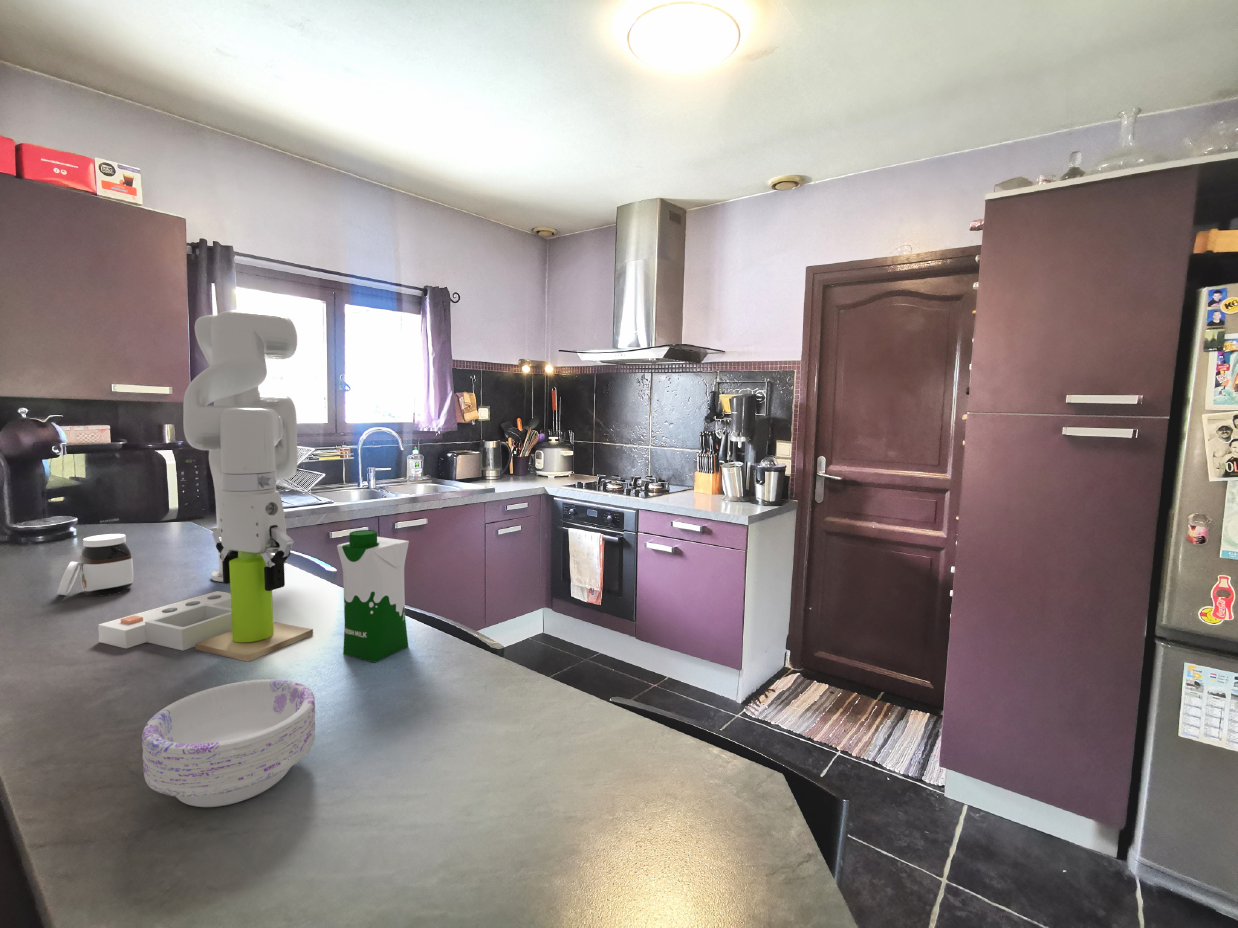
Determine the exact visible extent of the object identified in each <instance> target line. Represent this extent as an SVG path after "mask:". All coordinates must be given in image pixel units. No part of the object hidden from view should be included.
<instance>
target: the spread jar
mask: <svg viewBox="0 0 1238 928" xmlns="http://www.w3.org/2000/svg"><path fill="white" fill-rule="evenodd" d="M126 541H127V537H126V534H124V533H109V534H108V533H107V534H98V535H92V536H87V537H85V538H83V539H82V544H83V549H82V550H81V552H80V554H79V558H78V559H79V561H70V562H69V563H68V566H67V567H66V569H65V571H64V572H63V575H62V577H61V580H60V583H59V585H58V588H57V595H60V596H61V595H62V596H68V594H69V593H70V591H71V589H72V588H73V585H74V583H75V581H76V579H77V576H78V573H79V575H80V584H81V589H82V591H83V593H84V594H85V595H87V596H89V595H90V596H89V597H100V595H104V596H109V594H111V595H115V593H116V594H119V593H118V592H120V593H123V592H126V591H128V590H130V589H131V588H132V586H133V584H134V563H133V555H132V552H131V549H130V548H129V546H128V545H127V543H126ZM125 590H126V591H125Z"/></svg>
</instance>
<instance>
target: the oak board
mask: <svg viewBox="0 0 1238 928" xmlns="http://www.w3.org/2000/svg"><path fill="white" fill-rule="evenodd" d="M273 628H274V634H273V635H272V636H270V637H268V638H266V639H263V640H259V641H254V642H246V643H240V642H234V641H233V639H232V631H230V632H227V633H224V634H221V635H218V636H216V637H213V638H210V639H207V640H204V641H201V642H199V643H196V644H195V646H194V648H195V650H196V651H200V652H205V653H209V654H214V655H218V656H221V657H227V658H231V659H235V660H240V661H244V662H251V661H253V660H256V659H258V658H261V657H262V656H265V655H268V654H270V653H273V652H275V651H278V650H279V649H282V648H284V647H287V646H290V645H292V644H294V643H296V642H299V641H301V640H304V639H306V638H308V637H312V636H314V630H313V628H308V627H304V626H297V625H293V624H287V623H284V622H277V621H273Z"/></svg>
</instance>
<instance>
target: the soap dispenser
mask: <svg viewBox="0 0 1238 928" xmlns="http://www.w3.org/2000/svg"><path fill="white" fill-rule="evenodd" d="M264 567H267V564H266V562H265V561H264V559H263V557H262V556H261V554H252V553H245V552H241V551H238V558H235V559H232V560H230V561H229V569H230V584H229V590H230V592H229V593H231V616H232V639H233V641H234V642H240V643H246V642H254V641H259V640H263V639H266V638H268V637H270V636H272V635H273V634H274V628H273V622H274V609H273V608H274V607H273V605H274V604H273V590H272V591H266V590H265V580H264Z"/></svg>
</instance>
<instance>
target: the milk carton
mask: <svg viewBox="0 0 1238 928" xmlns="http://www.w3.org/2000/svg"><path fill="white" fill-rule="evenodd" d="M348 535H349V536H348V537H349V539H348V540H349V542H344V543H341V544H340V543H339V544H338V545H337V546H336V548H337V553H338V556H339V559H340V564H341V568H342V576H343V577H342V578H343V610H344V611H343V614H344V615H343V617H344V627H343V628H344V631H343V652H342V653H343V655H345V656H348V657H352V658H357V659H360V660H364V661H368V662H371V663H376V662H379V661H381V660H383V659H385V658H387V657H389V656H391V655H393V654H396V653H398V652H399V651H402V650H405V649H406V648H408V647H409V640H408V631H407V623H406V602H405V601H406V599H405V595H406V594H405V563H406V558H407V552H408V548H409V544H410V540H405V539H396V538H389V537H383V536H382V537H381V536H378V531H377V530H374V529H361V530H360V529H359V530H354V531H350V532H349V534H348Z"/></svg>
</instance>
